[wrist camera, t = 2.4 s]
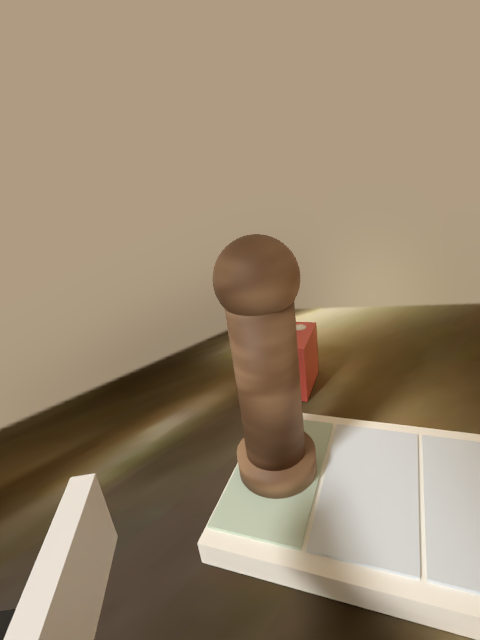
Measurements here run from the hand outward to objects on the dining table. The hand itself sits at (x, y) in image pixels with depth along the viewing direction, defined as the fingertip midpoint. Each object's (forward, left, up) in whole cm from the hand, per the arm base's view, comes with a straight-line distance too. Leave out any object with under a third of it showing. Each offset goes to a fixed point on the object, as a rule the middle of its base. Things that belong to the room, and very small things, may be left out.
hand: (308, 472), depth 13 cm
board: (+4, +9, -11) cm, 15 cm away
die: (-7, +21, -11) cm, 25 cm away
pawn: (-4, +9, -9) cm, 13 cm away
